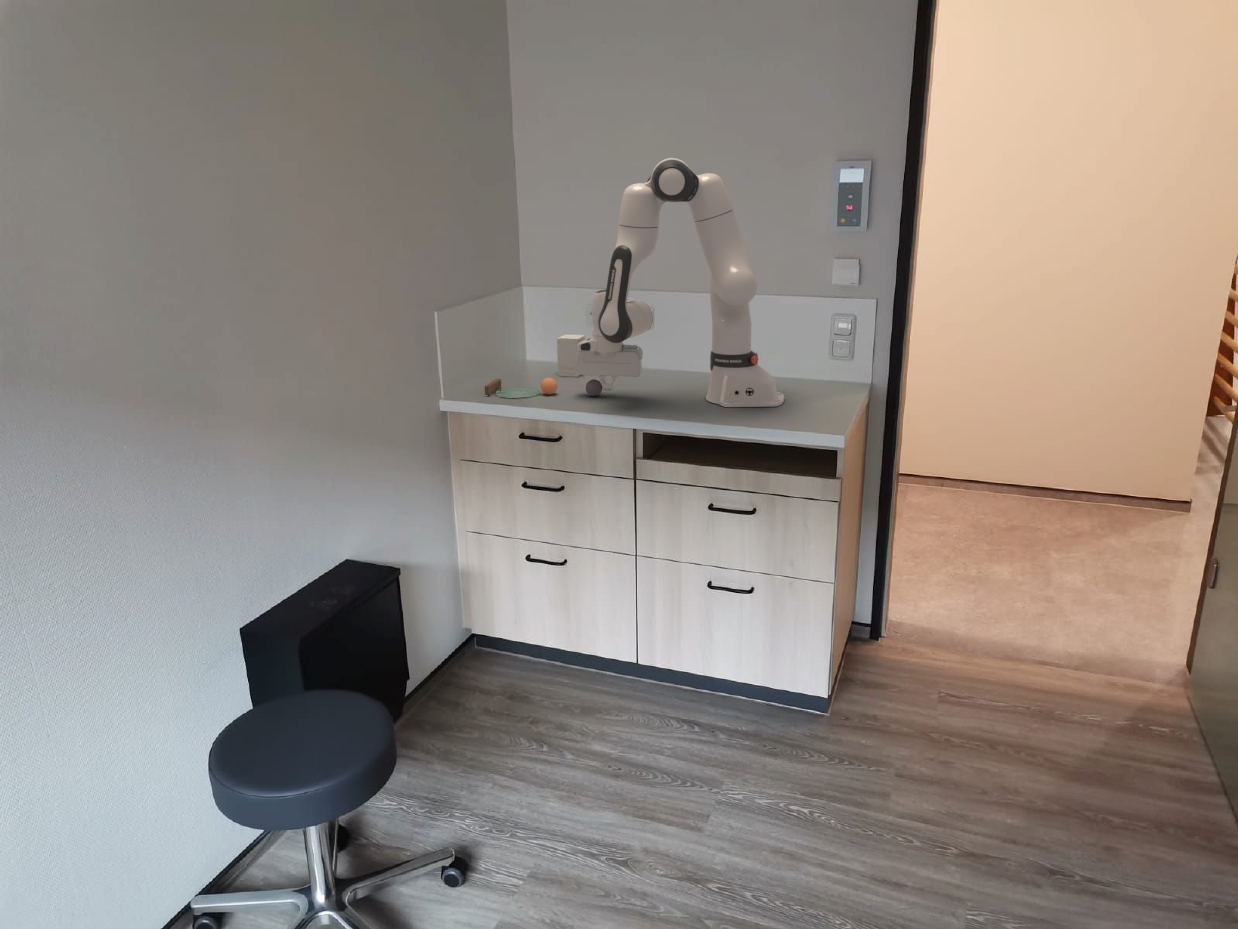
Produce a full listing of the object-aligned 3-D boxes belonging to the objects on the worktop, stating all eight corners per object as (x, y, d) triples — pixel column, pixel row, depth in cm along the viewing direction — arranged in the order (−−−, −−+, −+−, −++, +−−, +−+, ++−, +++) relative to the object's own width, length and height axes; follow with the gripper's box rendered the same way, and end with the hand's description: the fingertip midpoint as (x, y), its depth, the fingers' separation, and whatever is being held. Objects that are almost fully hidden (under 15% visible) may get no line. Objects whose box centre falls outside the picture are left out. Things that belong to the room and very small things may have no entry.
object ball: (559, 392, 279) (559, 376, 277) (555, 396, 274) (554, 380, 272) (544, 391, 280) (543, 375, 278) (539, 396, 275) (538, 379, 273)
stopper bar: (501, 388, 285) (500, 378, 284) (489, 396, 276) (489, 386, 275) (496, 388, 286) (496, 378, 285) (485, 396, 276) (484, 386, 275)
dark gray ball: (604, 394, 275) (604, 377, 274) (600, 398, 271) (599, 381, 269) (588, 393, 277) (587, 377, 275) (584, 397, 272) (583, 381, 270)
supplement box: (578, 377, 297) (577, 338, 293) (557, 376, 300) (555, 337, 296) (586, 372, 304) (585, 334, 300) (566, 371, 306) (564, 333, 302)
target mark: (546, 388, 284) (546, 387, 284) (532, 399, 271) (532, 399, 271) (504, 386, 287) (504, 386, 287) (488, 397, 274) (488, 397, 274)
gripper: (644, 343, 268) (644, 389, 273) (577, 340, 273) (579, 385, 278) (640, 347, 263) (640, 394, 267) (571, 344, 267) (573, 390, 272)
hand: (608, 390), depth 272 cm, fingers closed
